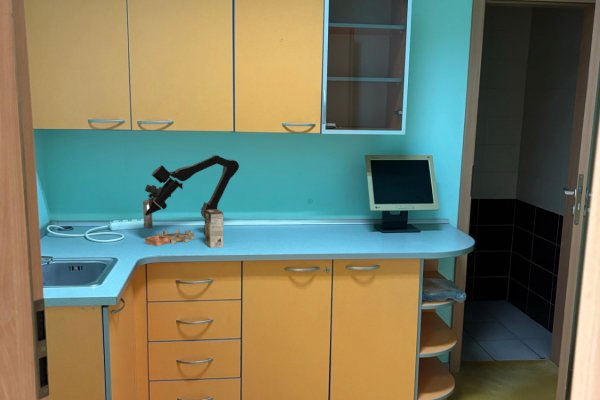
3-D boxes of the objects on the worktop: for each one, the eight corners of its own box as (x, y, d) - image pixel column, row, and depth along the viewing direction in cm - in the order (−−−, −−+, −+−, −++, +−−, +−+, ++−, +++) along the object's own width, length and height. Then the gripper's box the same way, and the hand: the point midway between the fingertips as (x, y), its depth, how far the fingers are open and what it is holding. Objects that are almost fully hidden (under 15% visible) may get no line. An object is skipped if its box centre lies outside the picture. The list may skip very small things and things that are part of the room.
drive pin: (153, 226, 279) (152, 200, 277) (150, 228, 275) (149, 201, 273) (145, 226, 279) (144, 199, 277) (142, 228, 275) (141, 201, 273)
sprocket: (178, 233, 291) (178, 228, 291) (201, 238, 280) (201, 232, 280) (139, 241, 273) (139, 235, 273) (161, 247, 263) (161, 241, 262)
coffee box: (204, 243, 270) (204, 209, 268) (218, 242, 273) (217, 208, 271) (210, 248, 262) (209, 212, 260) (224, 246, 265) (223, 211, 262)
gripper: (151, 176, 283) (128, 200, 281) (158, 180, 267) (134, 206, 264) (168, 191, 288) (146, 215, 285) (176, 196, 271) (153, 222, 268)
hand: (144, 214), depth 275 cm, fingers closed on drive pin, 4 cm apart
